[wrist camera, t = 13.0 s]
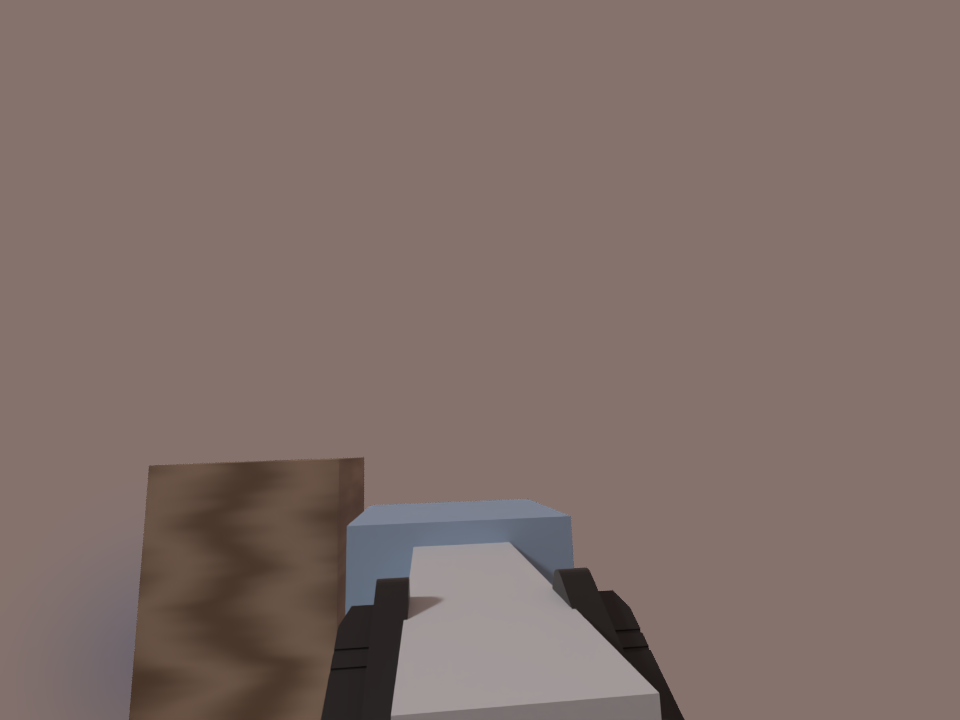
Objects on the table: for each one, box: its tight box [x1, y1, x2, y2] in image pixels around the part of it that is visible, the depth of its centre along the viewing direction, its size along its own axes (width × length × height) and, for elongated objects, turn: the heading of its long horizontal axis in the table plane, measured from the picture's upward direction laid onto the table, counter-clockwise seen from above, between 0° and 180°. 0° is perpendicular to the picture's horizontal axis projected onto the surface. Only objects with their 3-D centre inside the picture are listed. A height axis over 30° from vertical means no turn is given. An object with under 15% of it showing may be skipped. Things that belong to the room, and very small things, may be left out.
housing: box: [345, 499, 662, 720], centre depth 16 cm, size 8×20×6 cm, turn 6°
